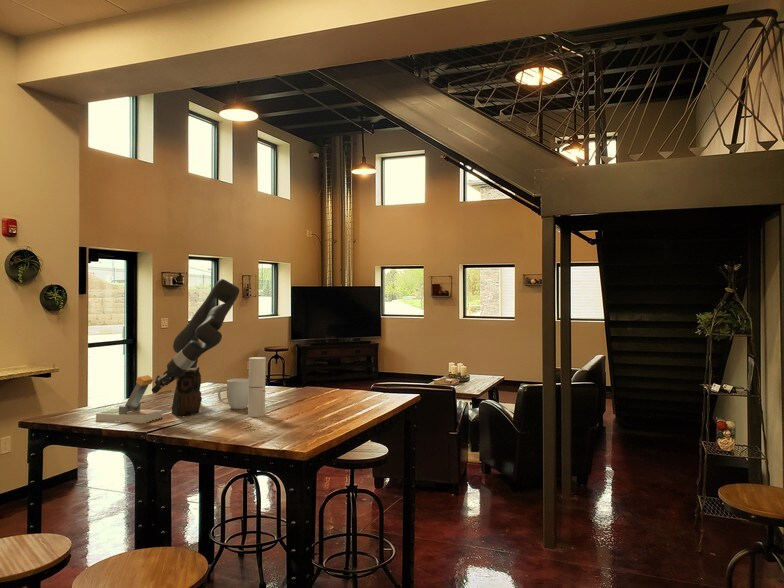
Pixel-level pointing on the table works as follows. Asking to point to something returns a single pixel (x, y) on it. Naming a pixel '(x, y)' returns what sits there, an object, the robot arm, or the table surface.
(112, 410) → the switch panel
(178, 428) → the table surface
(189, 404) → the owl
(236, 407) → the mug
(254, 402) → the white tall block
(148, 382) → the lever
